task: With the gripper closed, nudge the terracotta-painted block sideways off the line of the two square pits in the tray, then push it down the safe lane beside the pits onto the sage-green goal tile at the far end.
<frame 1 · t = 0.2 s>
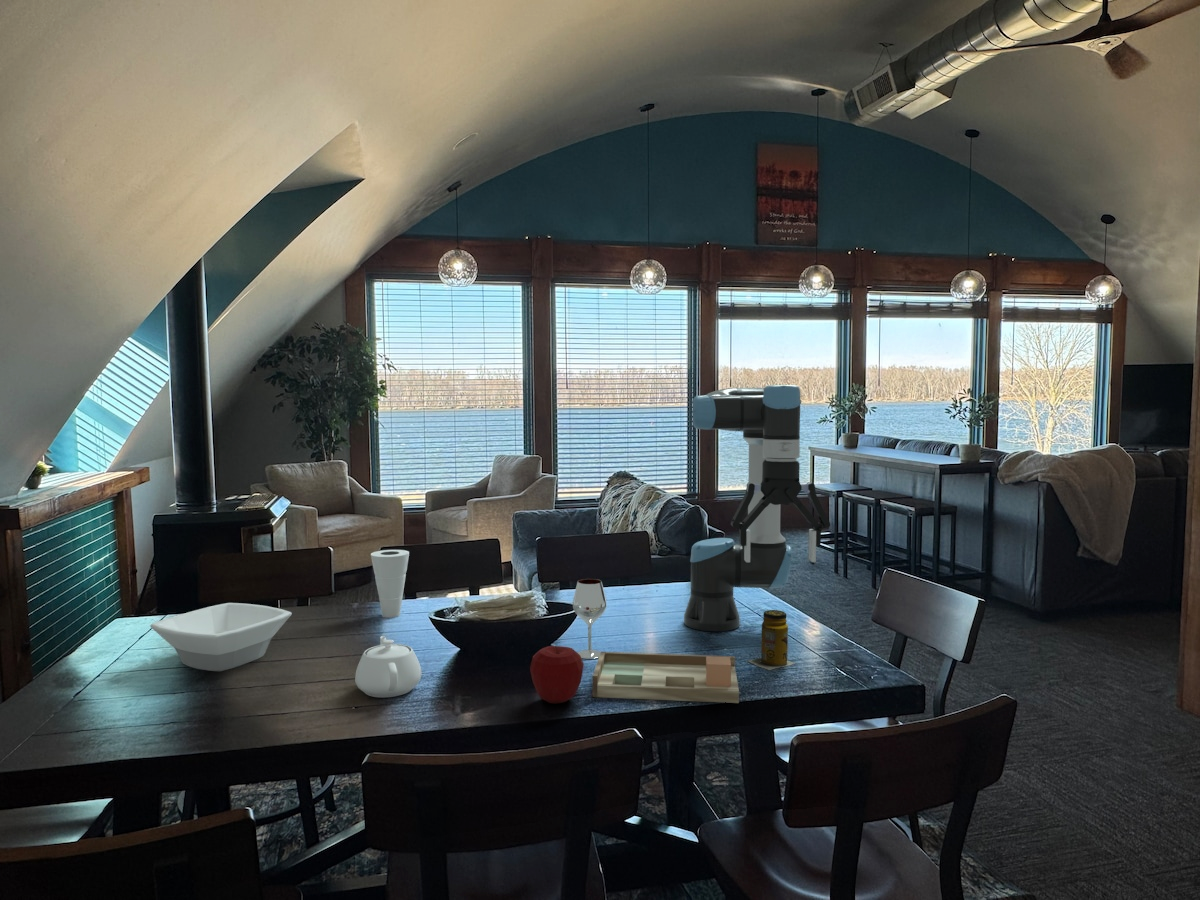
hand: (779, 561, 167), 28 cm above the table, fingers open, 13 cm apart
block: (718, 681, 168), point 2 cm above the table, touching tray
condiment: (771, 664, 187), on the table
bowl: (224, 660, 190), on the table
tray: (666, 686, 172), on the table
wineglass: (589, 655, 193), on the table
teapot: (388, 689, 171), on the table
apple: (556, 702, 164), on the table
cup: (391, 616, 229), on the table
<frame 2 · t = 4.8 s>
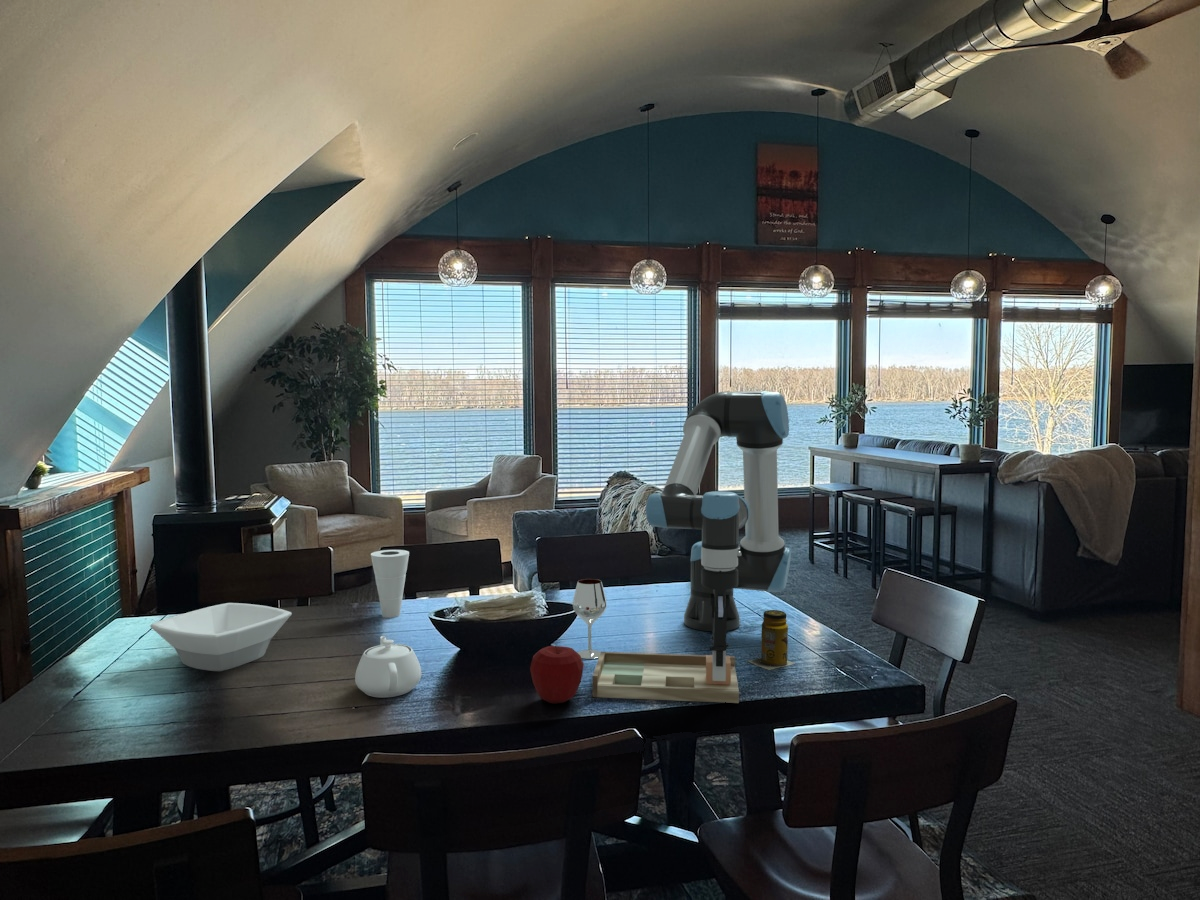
hand: (718, 679, 165), 4 cm above the table, fingers closed
block: (718, 679, 169), point 3 cm above the table, touching gripper
everything else where it was.
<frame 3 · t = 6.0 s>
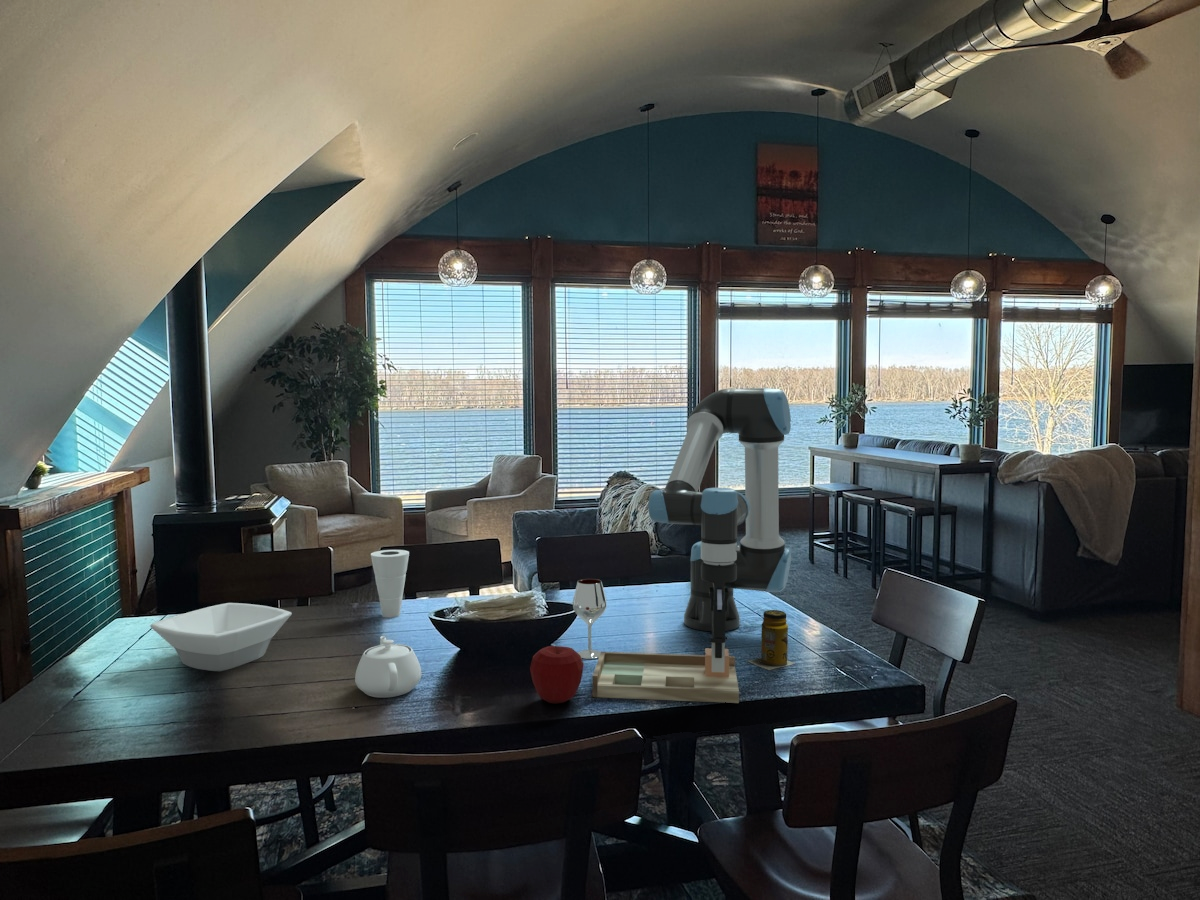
hand: (717, 671, 170), 4 cm above the table, fingers closed
block: (716, 672, 173), point 3 cm above the table, touching gripper, tray
everything else where it was.
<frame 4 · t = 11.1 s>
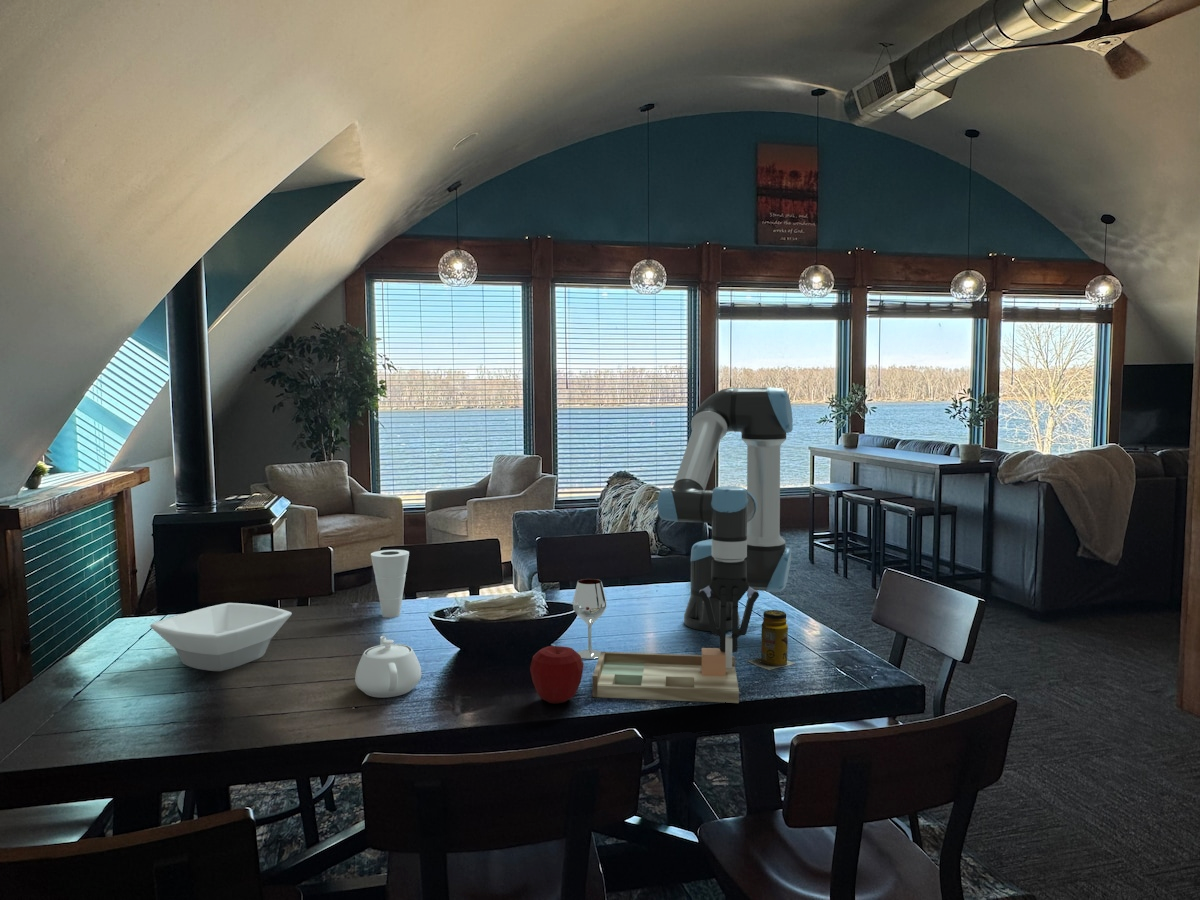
hand: (728, 666, 173), 4 cm above the table, fingers closed
block: (713, 671, 174), point 3 cm above the table, touching gripper
everything else where it was.
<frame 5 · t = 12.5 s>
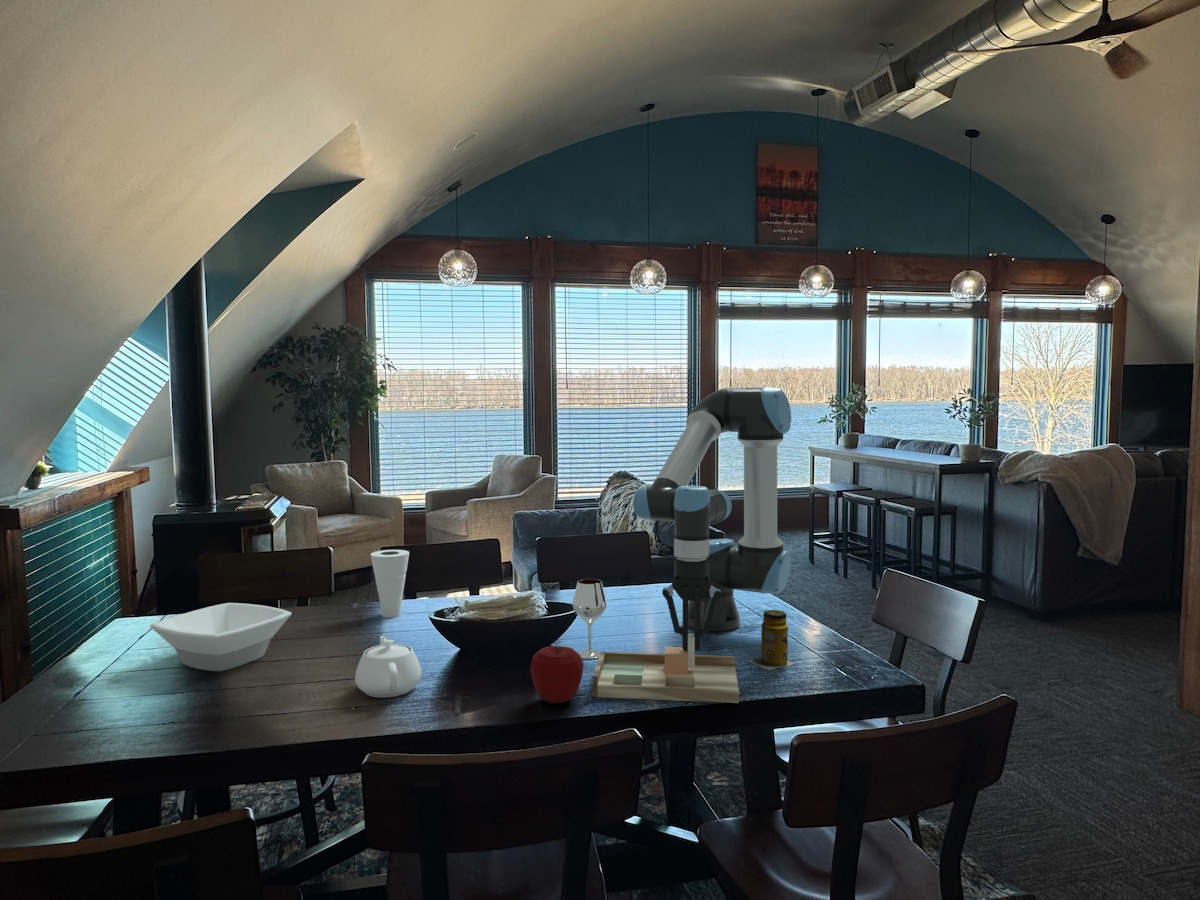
hand: (691, 664, 174), 4 cm above the table, fingers closed
block: (676, 670, 174), point 3 cm above the table, touching gripper
everything else where it was.
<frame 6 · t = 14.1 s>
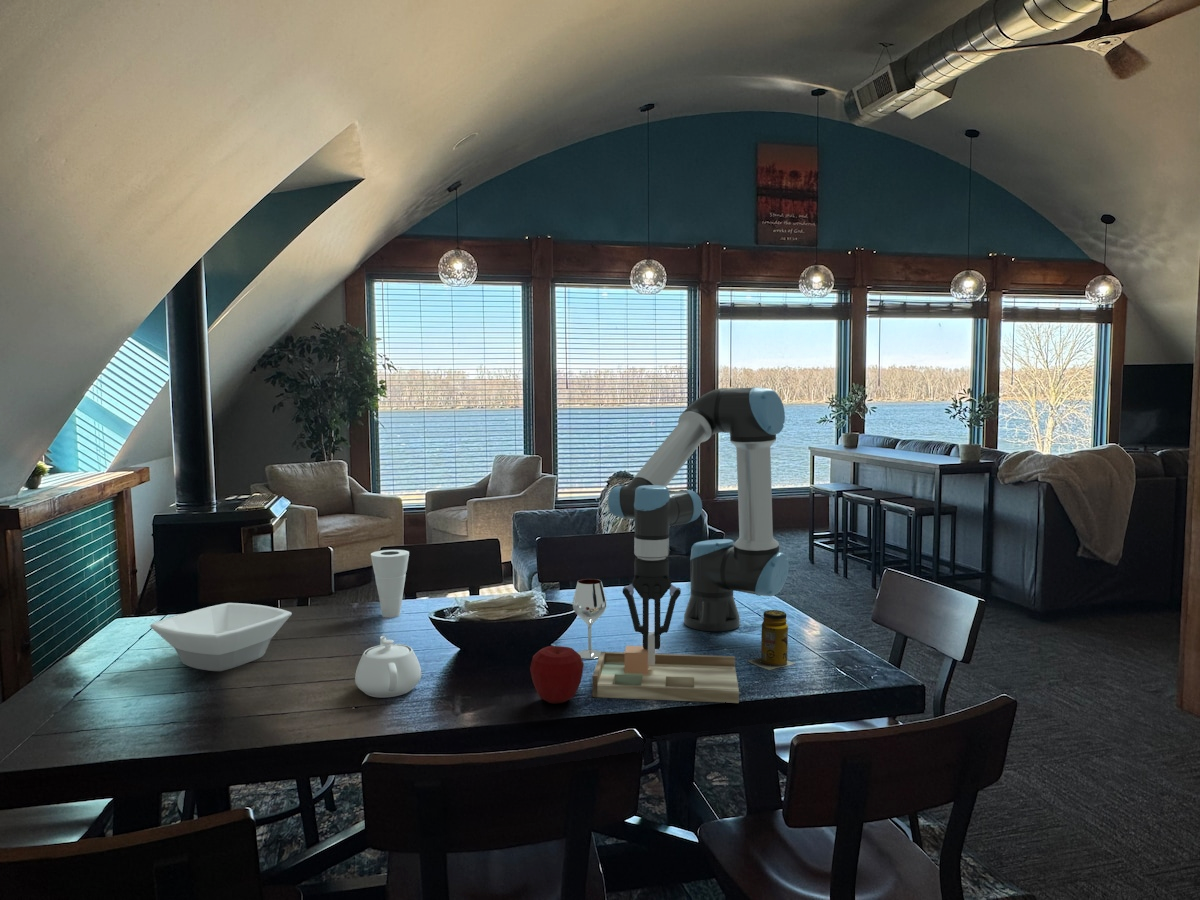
hand: (651, 663, 175), 4 cm above the table, fingers closed
block: (636, 669, 175), point 2 cm above the table, touching gripper, tray
everything else where it was.
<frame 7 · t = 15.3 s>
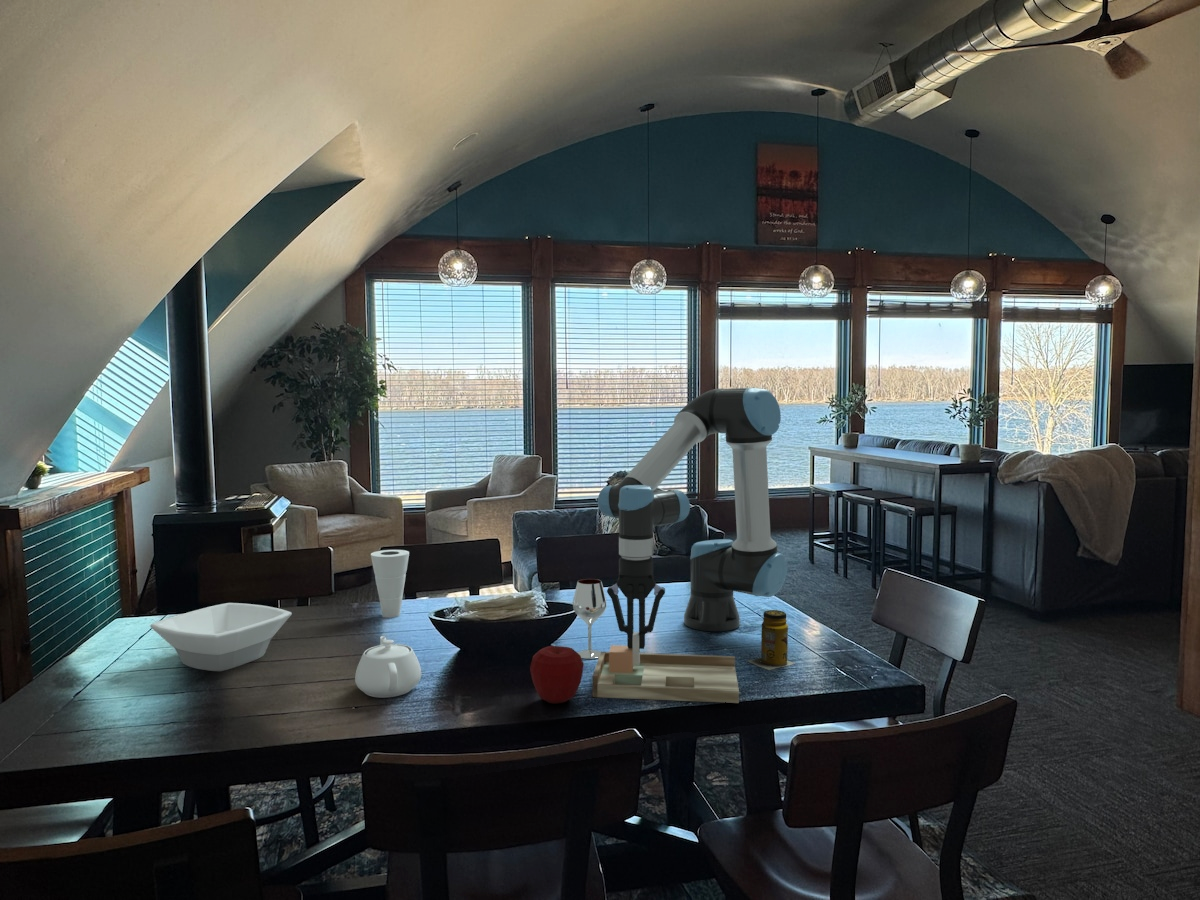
hand: (636, 662, 175), 4 cm above the table, fingers closed
block: (621, 669, 176), point 2 cm above the table, touching gripper, tray
everything else where it was.
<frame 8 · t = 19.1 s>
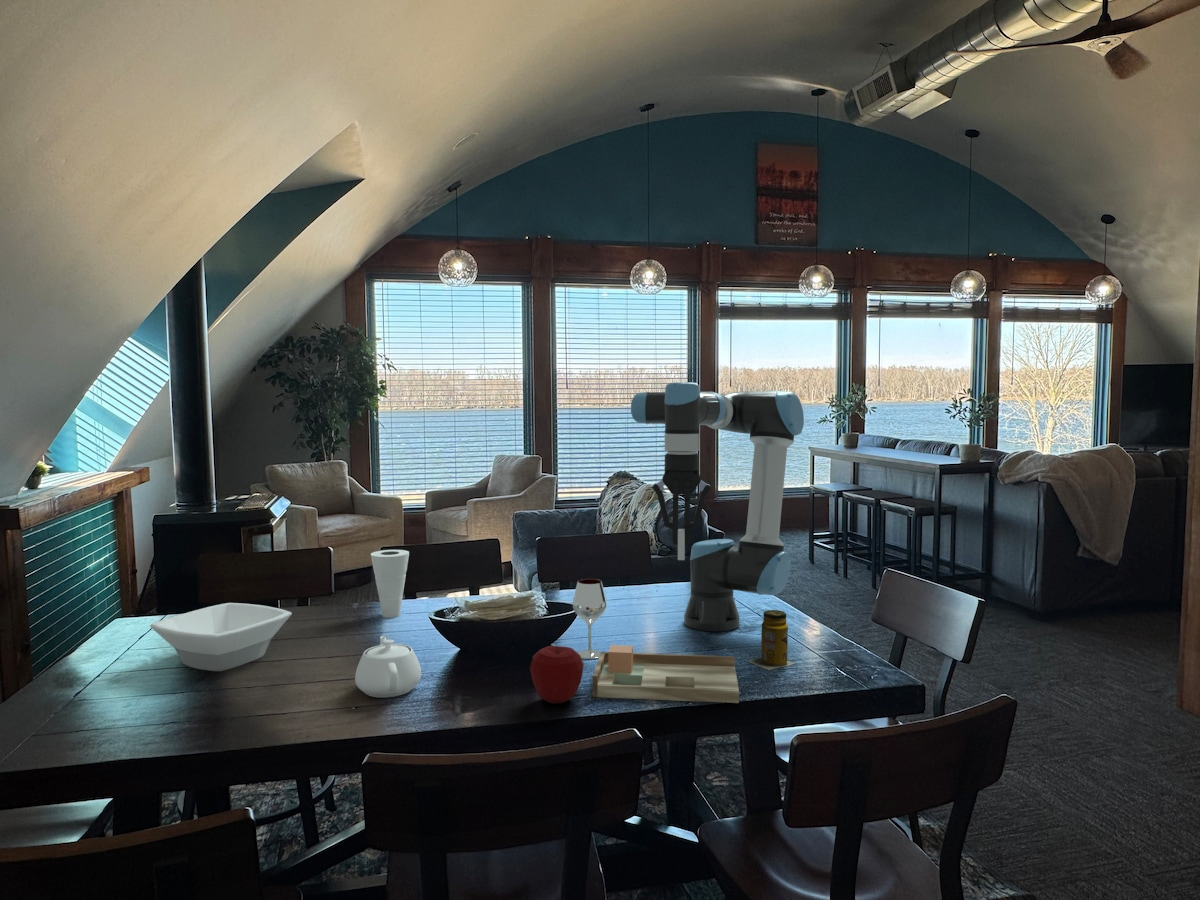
hand: (681, 558, 177), 26 cm above the table, fingers closed
block: (620, 668, 176), point 2 cm above the table, touching tray
everything else where it was.
at the end: block inside the target area (0.6 cm from its centre), point 2.5 cm above the table; block tilted 0° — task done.
